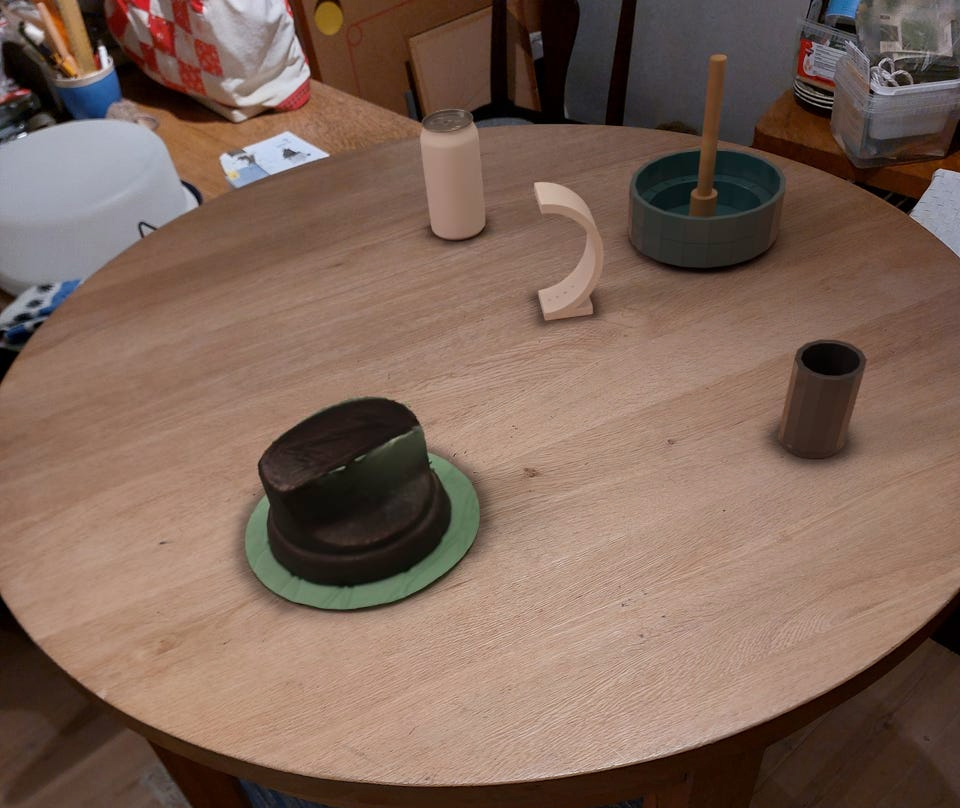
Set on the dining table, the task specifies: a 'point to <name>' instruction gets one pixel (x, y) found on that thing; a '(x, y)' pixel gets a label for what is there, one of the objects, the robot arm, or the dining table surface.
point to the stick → (709, 141)
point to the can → (453, 174)
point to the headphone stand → (577, 287)
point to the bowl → (705, 240)
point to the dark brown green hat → (358, 508)
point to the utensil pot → (821, 398)
